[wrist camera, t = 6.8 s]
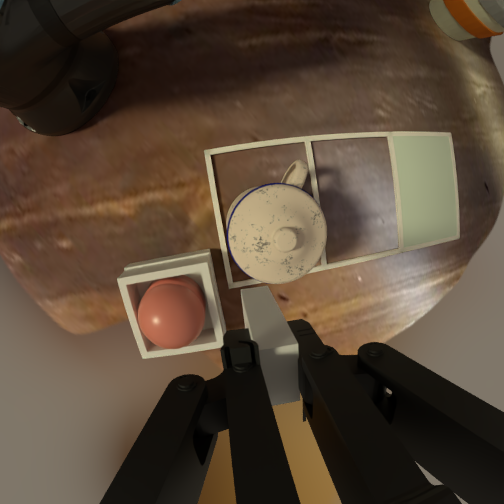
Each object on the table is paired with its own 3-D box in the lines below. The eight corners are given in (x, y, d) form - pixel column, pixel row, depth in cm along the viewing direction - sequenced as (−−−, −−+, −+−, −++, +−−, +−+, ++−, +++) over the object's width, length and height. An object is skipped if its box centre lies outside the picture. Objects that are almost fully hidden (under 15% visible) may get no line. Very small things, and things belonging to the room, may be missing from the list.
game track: (228, 287, 36) (228, 288, 36) (204, 150, 32) (204, 150, 32) (458, 238, 39) (459, 238, 39) (449, 132, 35) (450, 132, 35)
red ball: (154, 334, 34) (143, 365, 27) (138, 279, 32) (121, 301, 26) (211, 325, 35) (211, 356, 28) (198, 268, 33) (194, 289, 26)
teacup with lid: (282, 272, 37) (311, 310, 25) (211, 244, 35) (210, 272, 24) (323, 181, 35) (370, 181, 23) (253, 148, 33) (272, 129, 22)
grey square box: (150, 338, 36) (141, 360, 31) (128, 263, 34) (114, 277, 29) (225, 325, 37) (227, 347, 32) (209, 248, 35) (208, 259, 30)
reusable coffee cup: (426, -19, 29) (473, -52, 14) (475, 25, 31) (526, 4, 17) (414, 14, 31) (470, -23, 16) (467, 63, 33) (528, 43, 18)
